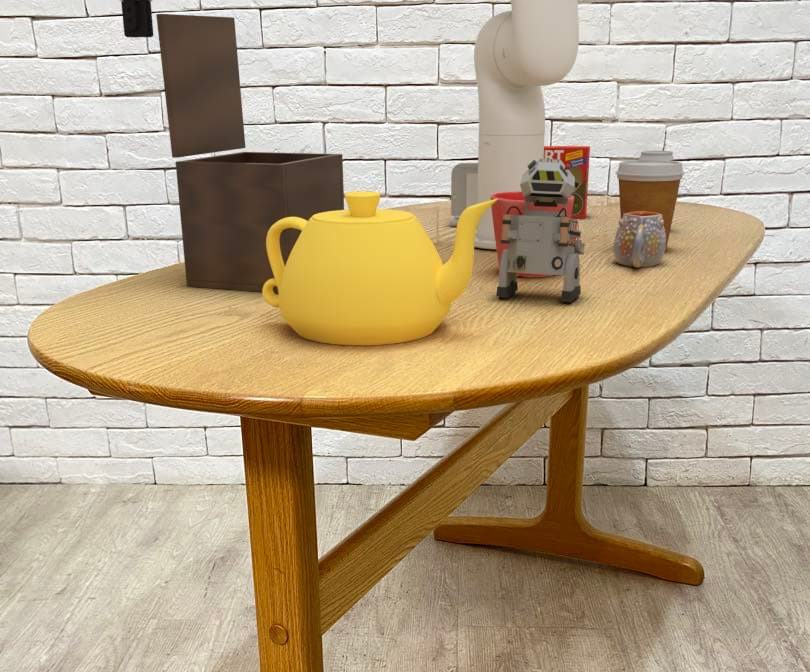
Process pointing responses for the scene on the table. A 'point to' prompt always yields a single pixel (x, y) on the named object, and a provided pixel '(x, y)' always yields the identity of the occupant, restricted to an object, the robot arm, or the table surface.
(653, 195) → the disposable coffee cup
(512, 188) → the robot arm
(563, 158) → the toy box
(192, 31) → the lid
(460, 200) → the handheld gaming console
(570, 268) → the figurine
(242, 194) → the case
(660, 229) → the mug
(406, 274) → the teapot
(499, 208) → the flower pot
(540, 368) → the table surface
